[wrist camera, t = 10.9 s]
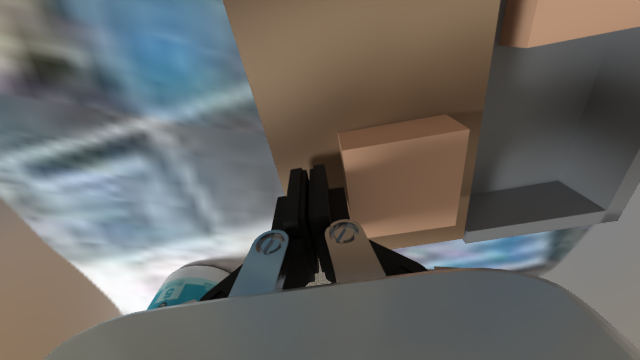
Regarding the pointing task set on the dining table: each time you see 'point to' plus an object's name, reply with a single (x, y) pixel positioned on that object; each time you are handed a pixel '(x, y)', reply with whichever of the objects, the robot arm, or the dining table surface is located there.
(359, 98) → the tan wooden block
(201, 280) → the pill bottle
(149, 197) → the dining table surface
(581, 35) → the tile
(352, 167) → the tile
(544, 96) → the tray
